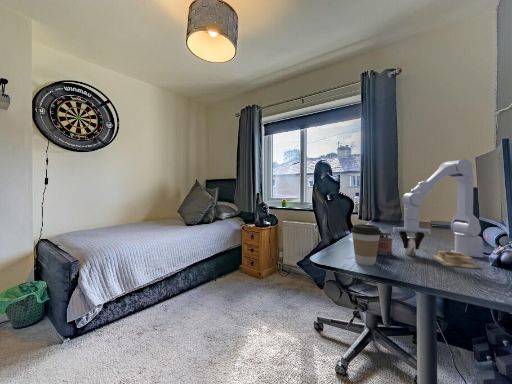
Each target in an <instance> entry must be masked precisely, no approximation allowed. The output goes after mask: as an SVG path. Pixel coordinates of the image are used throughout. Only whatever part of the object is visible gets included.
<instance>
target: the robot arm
mask: <svg viewBox="0 0 512 384" xmlns="http://www.w3.org/2000/svg"><path fill="white" fill-rule="evenodd" d="M446 176H447V177H448V176H449V177H452V178H454V179H455V180H456V181H457V202H456V203H457V205H456V206H457V207H456V209H457V210H456V214H455V215H454V216H452V221H451V223H450V229H451V232H453V234H454V250H452V249H451V250H450V252H460V253H463V254H465V255H467V256H469V257H471V258H473V257H474V258H485V256H484V240H483V238H482V237H481V236H479V235H480V234H481V232H482V227H481V224H480V220H479V218H478V217H476V216H475V214H474V178H475V177H474V173H473V163H472V162H471V161H469V160H468V159H465V158H462V159H457V160H445V161H444V162H442V164H440V165H438V169H437V170H436V171H434V173H432V174H431V176H430V177H429V178H427V179H426V180H422V181H419V182H417V184H416V186H414V188H411V190H410V191H409V192H406V193H404V194H403V196H402V197H401V202H402V204H403V209H404V210H403V211H404V214H403V216H404V217H403V221H404V222H403V223H404V224H403V227H398V226H397V227H395V226H393V227H392V232H393V233H398V234H399V236H400V237H401V241H402V244H403V248H404V249H405V250H406V249H407V237H408V234H407V233H410V234H412V233H413V234H414V237H415V238H416V251H418V250H419V249H420V245H421V243H422V242H423V240H424V238H425V234H426V235H431V234H432V230H431V229H430V228H420V205H422V204H423V202H424V199H425V197H427V196H428V195H429V194H430V193H431V192H432V191H434V186H436V184H438V183H439V182H440V181H441V180H443V179H444V178H445V177H446Z"/></svg>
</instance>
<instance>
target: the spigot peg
mask: <svg viewBox="0 0 512 384" xmlns="http://www.w3.org/2000/svg"><path fill="white" fill-rule="evenodd" d="M405 255H406V256H410V257H416V256H417V249H416V238H415V236H407V249H405Z"/></svg>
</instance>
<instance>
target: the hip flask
mask: <svg viewBox="0 0 512 384" xmlns="http://www.w3.org/2000/svg"><path fill="white" fill-rule="evenodd" d="M391 235H392V233H391V232H383V231H381V235H380V238H379V244H378V252H377V255H386V256H391V255H393V250H392V249H393V237H391ZM389 236H390V237H389Z"/></svg>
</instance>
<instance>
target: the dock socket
mask: <svg viewBox="0 0 512 384" xmlns="http://www.w3.org/2000/svg"><path fill="white" fill-rule="evenodd" d="M431 258H432V259H434V260H435V261H437V262H438V263H440V265H441V266H448V267H449V266H450V267H451V266H452V267H459V268H470V269H481V266H480V265H479V264H477V263H475V262H474V261H473V257H471V256H467V255H465V254H463V253H460V252H451V251H445V250H444V251H443V250H438V251H437V255H436V254H435V255H434V254H431Z"/></svg>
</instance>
